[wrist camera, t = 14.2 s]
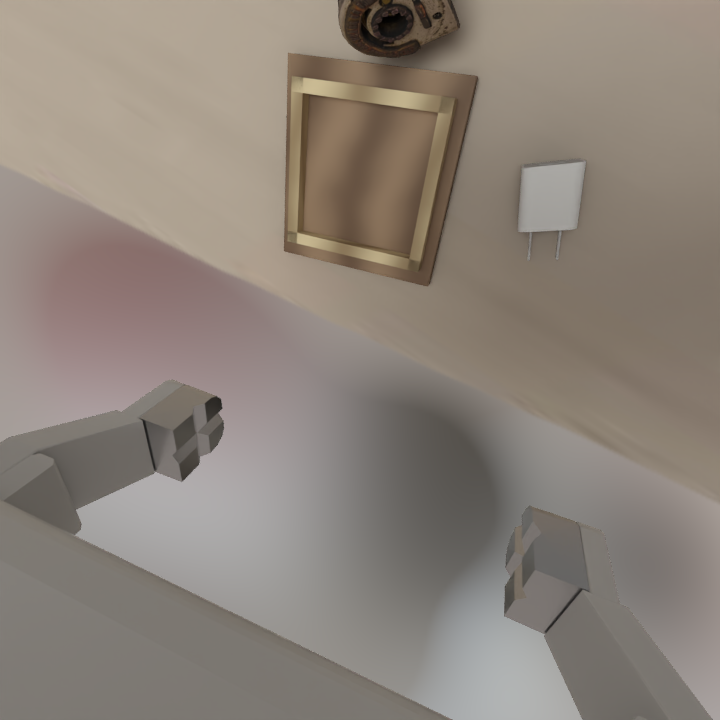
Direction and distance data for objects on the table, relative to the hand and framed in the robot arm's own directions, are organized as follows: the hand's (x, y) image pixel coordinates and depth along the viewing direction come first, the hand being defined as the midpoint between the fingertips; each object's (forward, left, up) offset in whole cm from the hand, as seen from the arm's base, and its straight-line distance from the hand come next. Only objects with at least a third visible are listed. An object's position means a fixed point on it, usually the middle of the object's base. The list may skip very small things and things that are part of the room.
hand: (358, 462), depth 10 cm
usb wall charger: (-5, -3, -29) cm, 30 cm away
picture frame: (+10, -3, -29) cm, 31 cm away
